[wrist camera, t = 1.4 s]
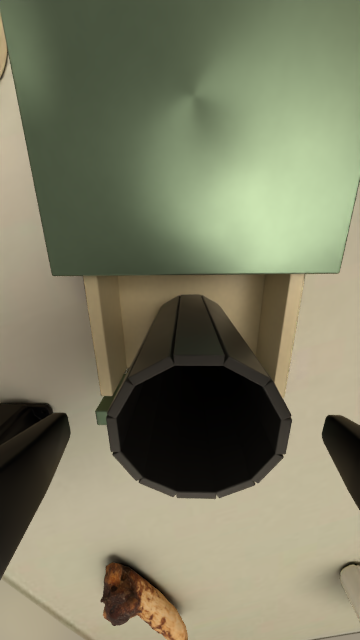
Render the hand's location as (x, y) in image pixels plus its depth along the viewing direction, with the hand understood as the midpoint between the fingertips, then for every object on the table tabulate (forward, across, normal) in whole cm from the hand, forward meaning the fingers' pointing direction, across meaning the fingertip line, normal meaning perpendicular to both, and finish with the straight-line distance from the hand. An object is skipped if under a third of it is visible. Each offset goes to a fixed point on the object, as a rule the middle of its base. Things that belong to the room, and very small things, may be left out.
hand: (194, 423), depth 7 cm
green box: (+11, 0, -12) cm, 16 cm away
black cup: (+9, 0, 0) cm, 9 cm away
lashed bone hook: (+11, +7, +41) cm, 43 cm away
